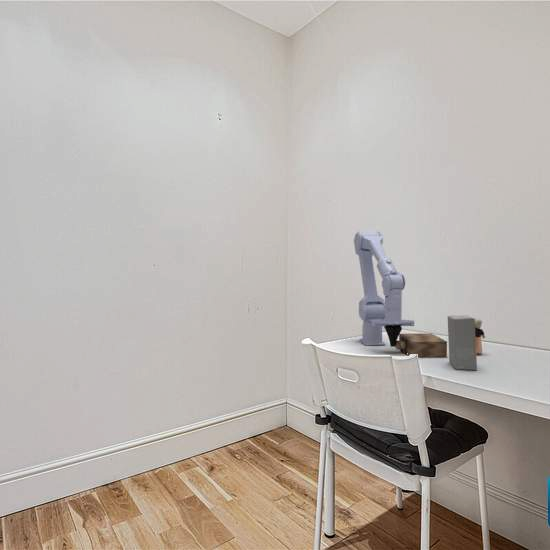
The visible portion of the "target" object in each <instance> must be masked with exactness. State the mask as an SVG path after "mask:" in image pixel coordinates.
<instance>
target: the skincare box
mask: <svg viewBox="0 0 550 550" xmlns="http://www.w3.org/2000/svg"><path fill="white" fill-rule="evenodd" d="M475 319H476V318H475V317H472V316H470V315H465V314H464V315H463V314H461V315H447V333H448V334H447V335H448V338H447V339H448V363H449V364H450V365H451V366H452V368H454V369H455V370H467V371H468V370H471V371H477V370H478V368H477V367H478V362H477V361H478V359H477V355H476V338H475Z"/></svg>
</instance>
